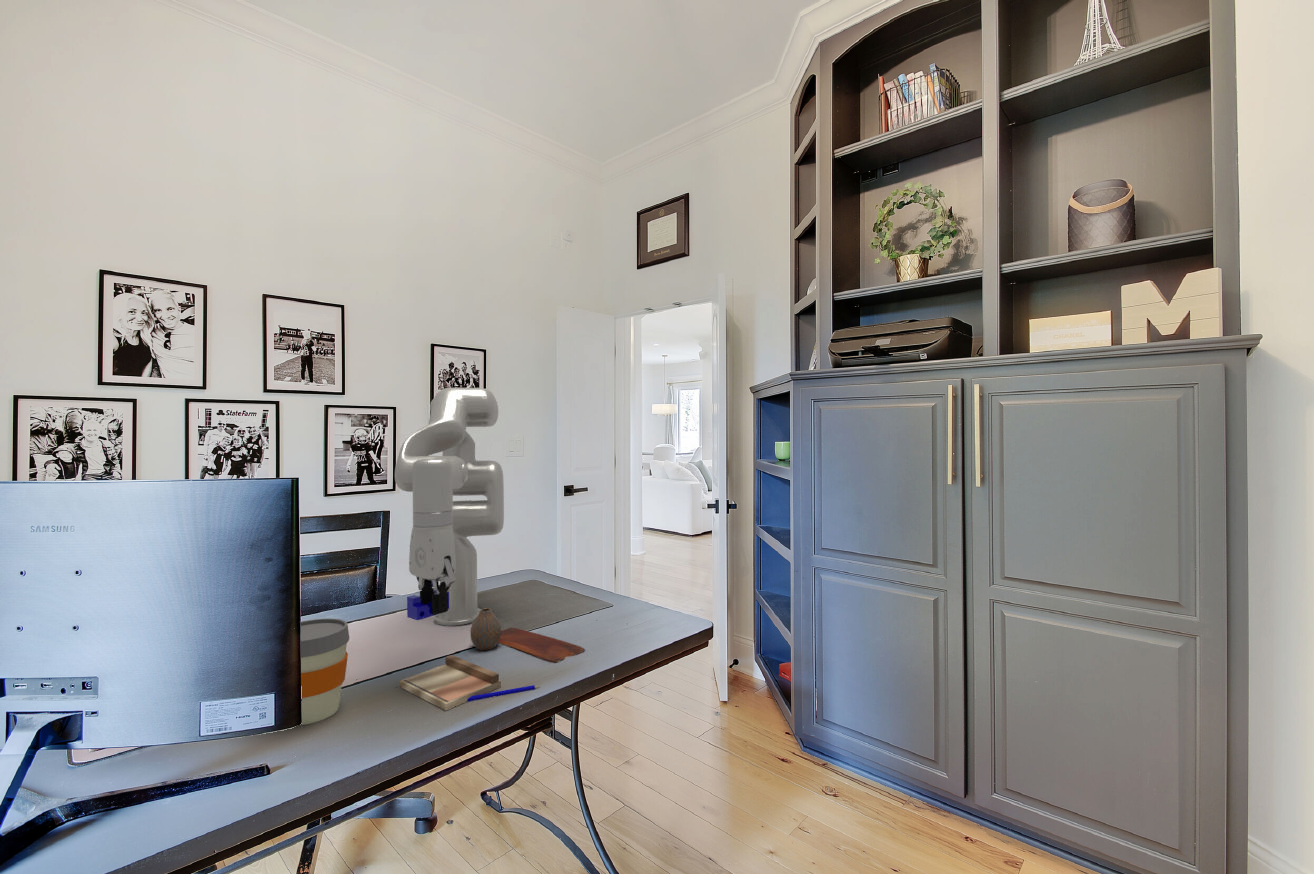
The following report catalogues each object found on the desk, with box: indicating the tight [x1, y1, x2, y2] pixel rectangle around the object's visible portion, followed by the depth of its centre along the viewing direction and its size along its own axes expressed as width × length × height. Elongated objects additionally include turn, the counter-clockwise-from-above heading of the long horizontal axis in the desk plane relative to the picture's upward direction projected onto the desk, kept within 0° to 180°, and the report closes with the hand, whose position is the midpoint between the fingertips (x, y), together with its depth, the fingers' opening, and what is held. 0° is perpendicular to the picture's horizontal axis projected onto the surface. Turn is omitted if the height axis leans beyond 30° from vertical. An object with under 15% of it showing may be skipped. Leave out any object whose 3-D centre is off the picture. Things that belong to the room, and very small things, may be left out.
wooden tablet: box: [498, 627, 585, 664], centre depth 135 cm, size 27×10×2 cm, turn 52°
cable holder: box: [406, 592, 449, 621], centre depth 114 cm, size 8×4×4 cm, turn 144°
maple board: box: [399, 654, 502, 712], centre depth 112 cm, size 16×12×3 cm
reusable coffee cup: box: [300, 618, 350, 726], centre depth 102 cm, size 13×13×15 cm
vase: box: [469, 607, 502, 651], centre depth 133 cm, size 7×7×9 cm
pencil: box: [466, 684, 541, 703], centre depth 109 cm, size 17×1×1 cm, turn 113°
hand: (433, 609), depth 114 cm, fingers closed on cable holder, 3 cm apart
